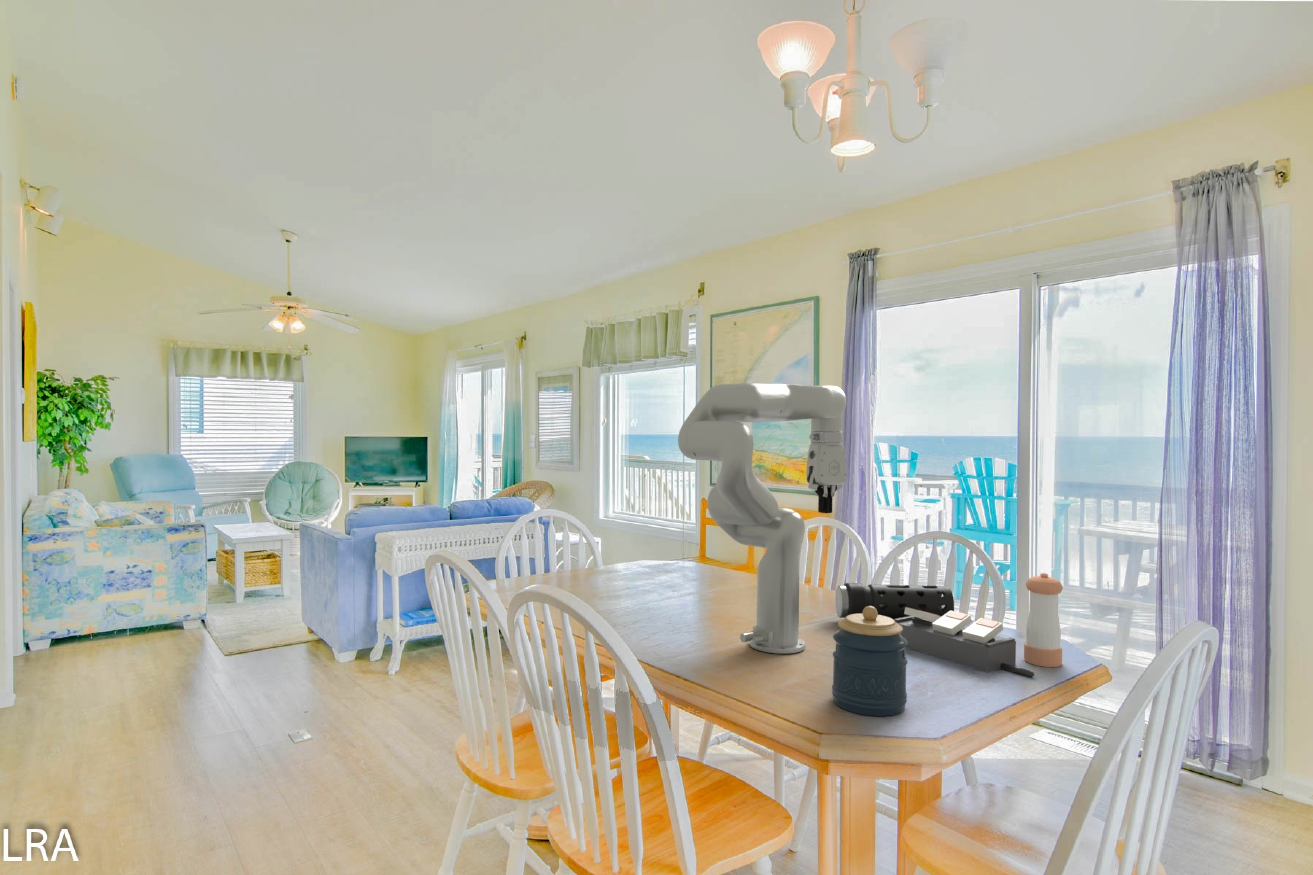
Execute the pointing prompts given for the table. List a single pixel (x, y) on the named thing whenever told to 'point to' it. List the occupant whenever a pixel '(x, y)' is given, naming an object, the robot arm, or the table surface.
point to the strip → (961, 647)
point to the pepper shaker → (1043, 622)
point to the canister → (869, 664)
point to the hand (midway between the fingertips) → (825, 512)
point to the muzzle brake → (892, 599)
